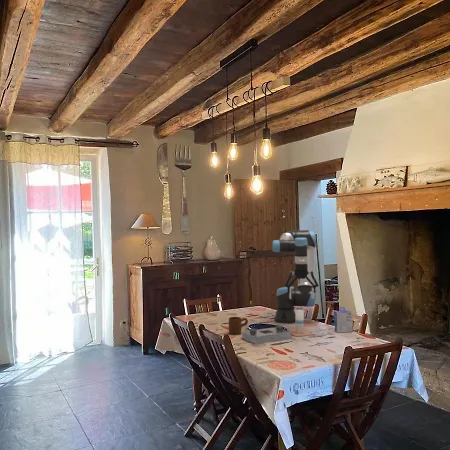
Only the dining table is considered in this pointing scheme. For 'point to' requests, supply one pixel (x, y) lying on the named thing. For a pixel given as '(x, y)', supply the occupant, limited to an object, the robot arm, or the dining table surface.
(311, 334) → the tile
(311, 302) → the robot arm
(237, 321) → the mug
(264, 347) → the dining table surface
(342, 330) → the ink cartridge box
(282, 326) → the plunger far
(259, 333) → the housing
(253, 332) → the plunger near
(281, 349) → the dining table surface
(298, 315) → the cylinder
